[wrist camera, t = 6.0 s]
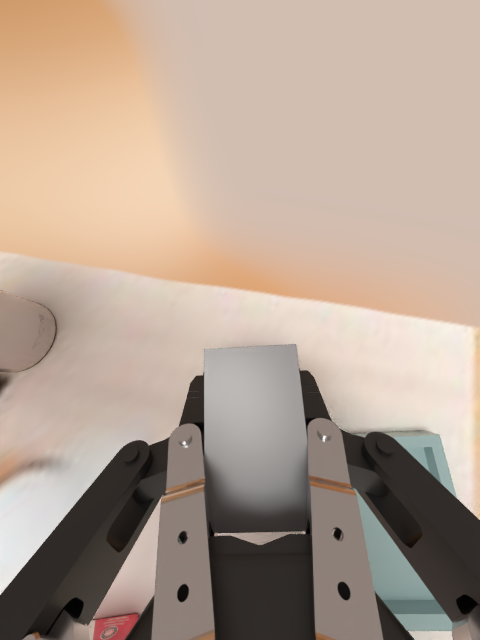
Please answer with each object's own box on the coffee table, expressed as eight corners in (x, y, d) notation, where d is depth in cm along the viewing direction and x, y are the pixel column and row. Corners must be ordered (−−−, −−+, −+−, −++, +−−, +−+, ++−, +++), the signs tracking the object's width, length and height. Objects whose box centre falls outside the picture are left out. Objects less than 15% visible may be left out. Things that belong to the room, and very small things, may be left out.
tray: (318, 606, 20) (325, 630, 18) (299, 435, 24) (303, 440, 22) (469, 606, 19) (492, 631, 17) (424, 430, 23) (439, 434, 21)
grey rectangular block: (231, 445, 17) (204, 533, 7) (229, 365, 19) (204, 349, 9) (279, 444, 17) (318, 530, 7) (272, 363, 19) (295, 344, 9)
